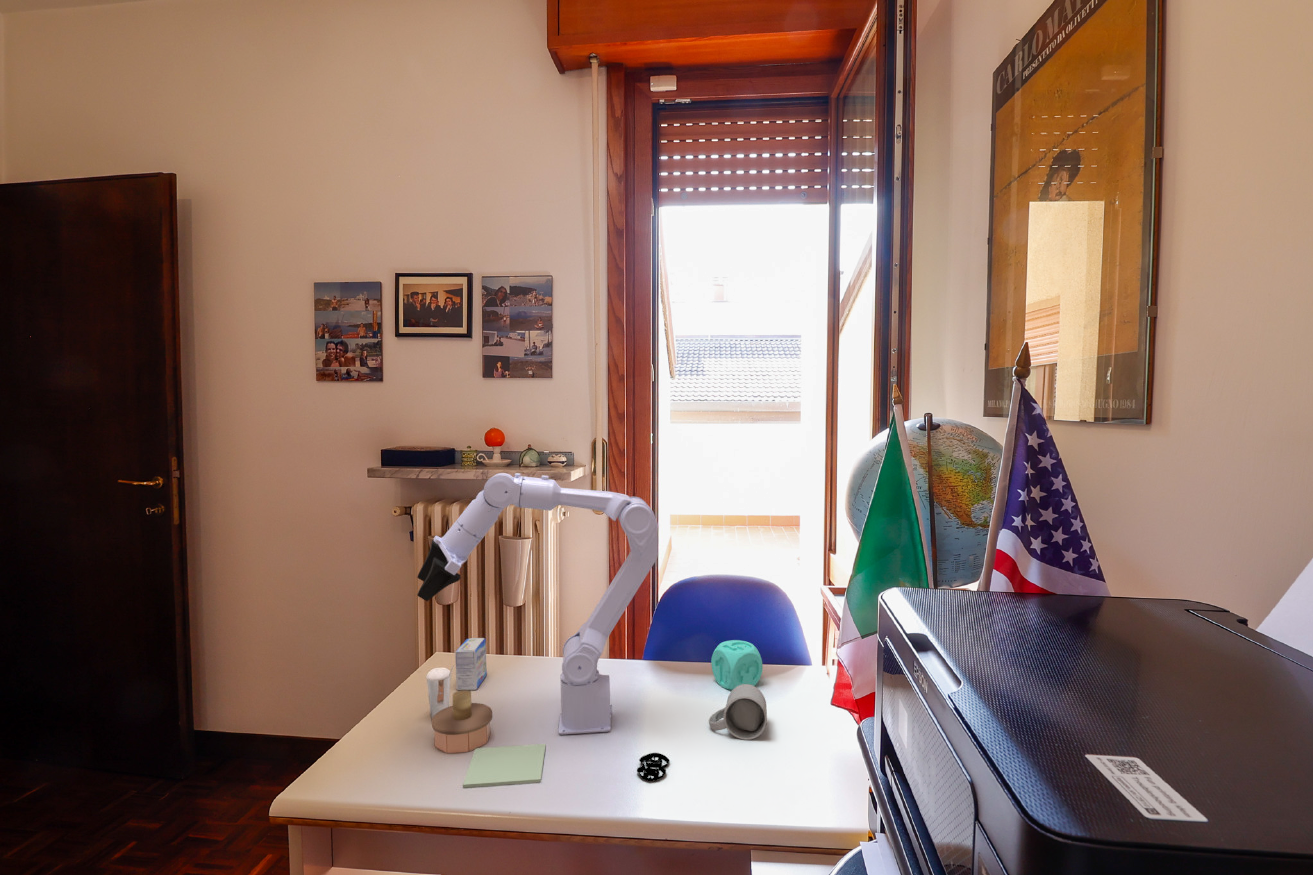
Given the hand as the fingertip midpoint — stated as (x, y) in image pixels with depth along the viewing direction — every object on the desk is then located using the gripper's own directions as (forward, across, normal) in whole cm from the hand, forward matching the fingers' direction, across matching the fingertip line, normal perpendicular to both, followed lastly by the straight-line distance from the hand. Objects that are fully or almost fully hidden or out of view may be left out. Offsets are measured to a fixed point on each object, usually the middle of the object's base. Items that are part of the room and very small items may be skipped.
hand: (422, 588), depth 116 cm
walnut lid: (+14, +8, +19) cm, 25 cm away
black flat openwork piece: (-4, +30, +41) cm, 51 cm away
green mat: (+11, +20, +24) cm, 34 cm away
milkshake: (+20, -2, +20) cm, 28 cm away
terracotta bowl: (+16, +9, +21) cm, 28 cm away
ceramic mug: (-15, +24, +57) cm, 63 cm away
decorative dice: (-18, +6, +66) cm, 68 cm away
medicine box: (+18, -16, +26) cm, 36 cm away
